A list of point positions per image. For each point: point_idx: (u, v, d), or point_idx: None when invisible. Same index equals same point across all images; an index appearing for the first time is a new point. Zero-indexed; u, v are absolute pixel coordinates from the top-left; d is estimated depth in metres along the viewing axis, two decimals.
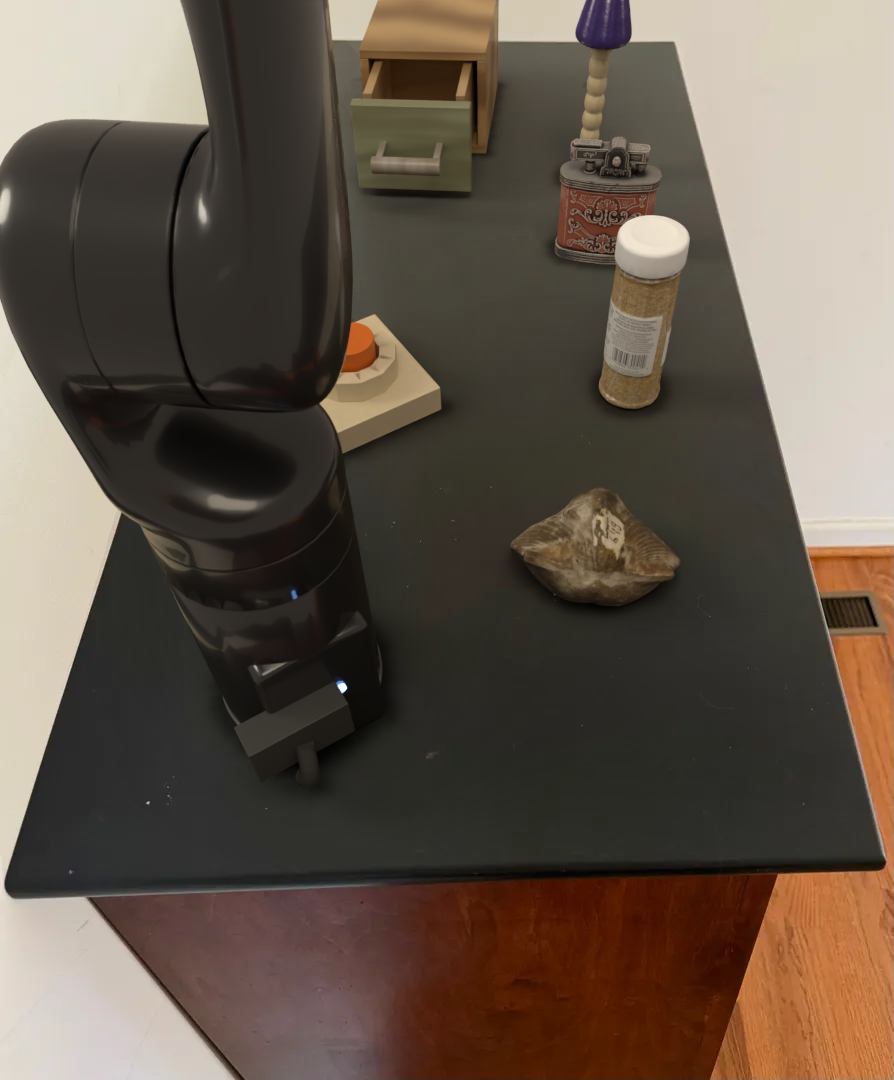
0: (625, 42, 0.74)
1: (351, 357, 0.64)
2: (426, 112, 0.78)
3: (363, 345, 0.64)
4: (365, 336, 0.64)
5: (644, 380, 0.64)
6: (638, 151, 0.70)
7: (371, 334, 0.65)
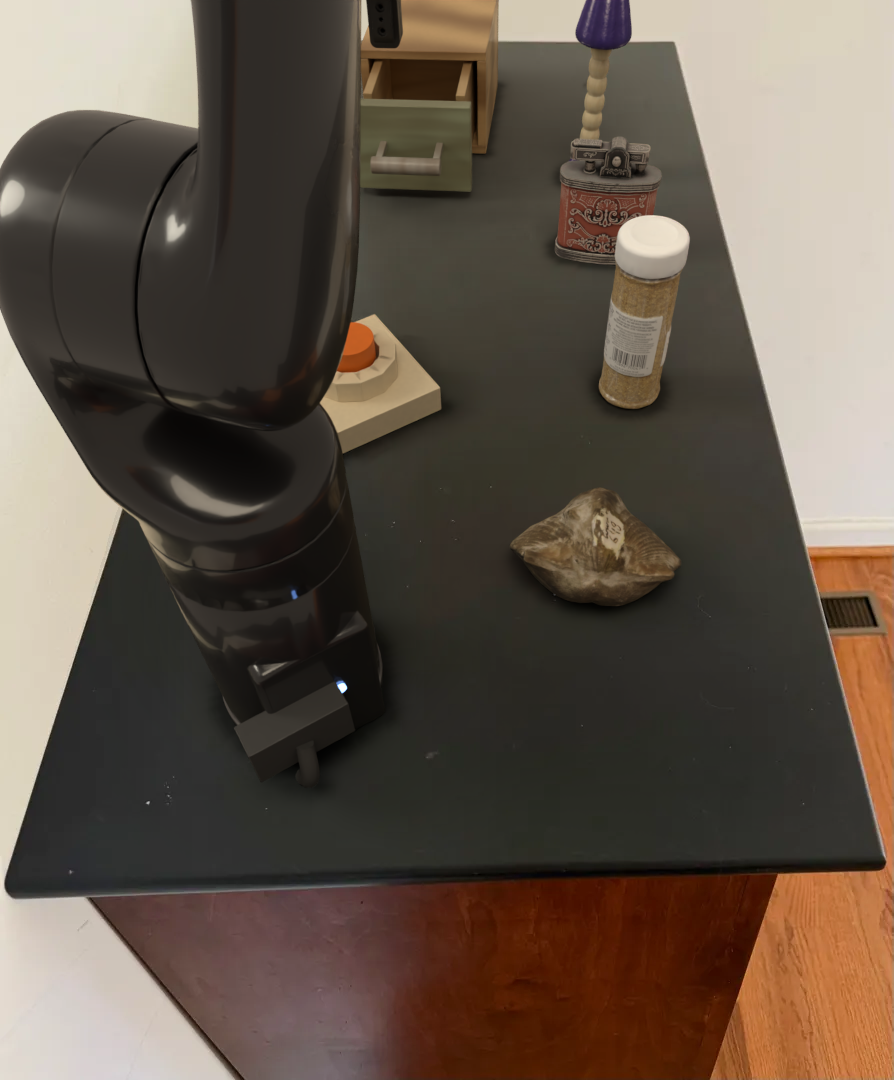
0: (625, 42, 0.74)
1: (351, 357, 0.64)
2: (426, 112, 0.78)
3: (363, 345, 0.64)
4: (365, 336, 0.64)
5: (644, 380, 0.64)
6: (638, 151, 0.70)
7: (371, 334, 0.65)
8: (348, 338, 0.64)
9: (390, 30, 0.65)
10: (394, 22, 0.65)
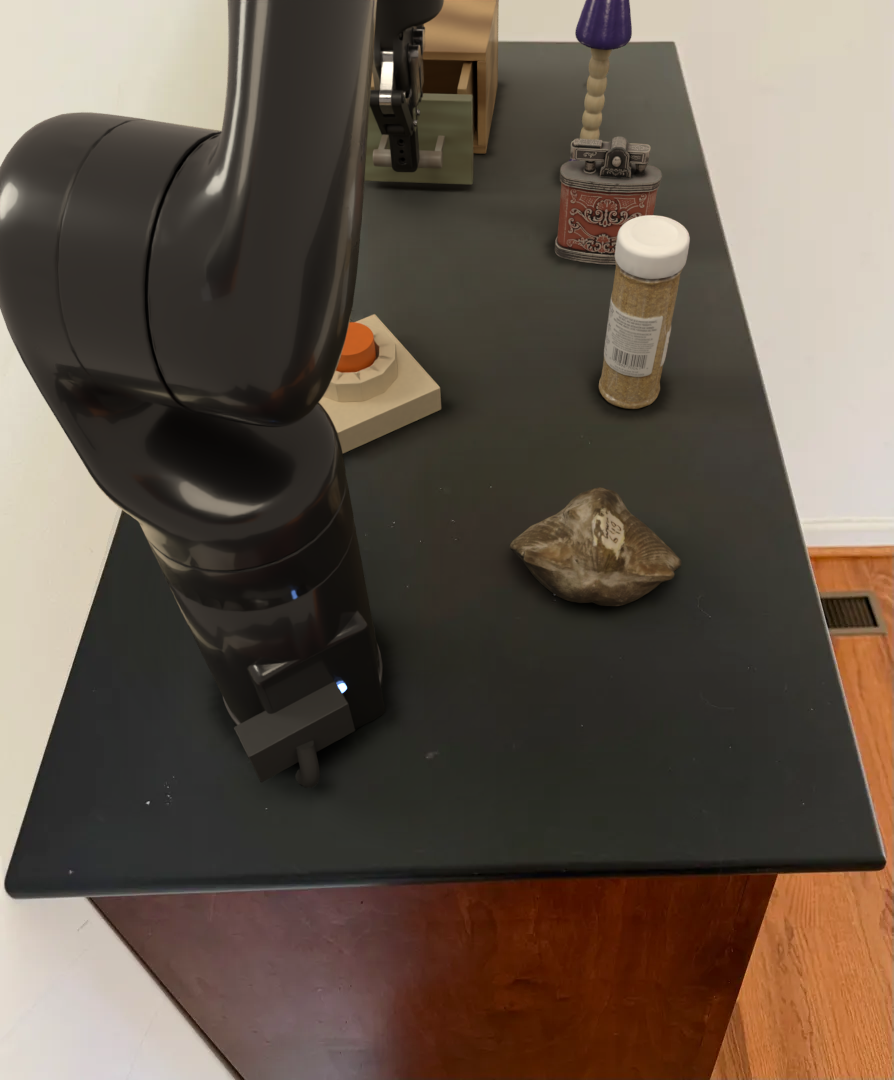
0: (625, 42, 0.74)
1: (351, 357, 0.64)
2: (428, 105, 0.78)
3: (363, 345, 0.64)
4: (365, 336, 0.64)
5: (644, 380, 0.64)
6: (638, 151, 0.70)
7: (371, 334, 0.65)
8: (348, 338, 0.64)
9: (409, 160, 0.76)
10: (412, 152, 0.76)
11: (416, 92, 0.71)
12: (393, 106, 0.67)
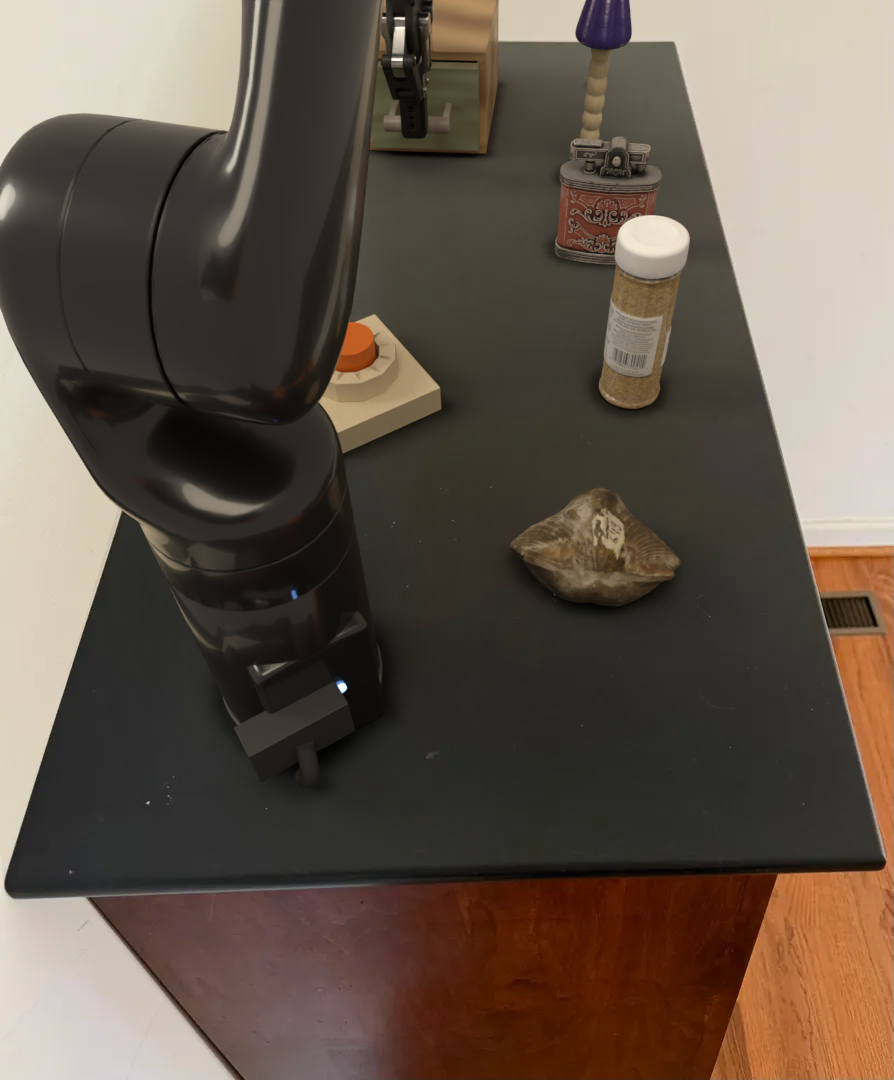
0: (625, 42, 0.74)
1: (351, 357, 0.64)
2: (436, 73, 0.82)
3: (363, 345, 0.64)
4: (365, 336, 0.64)
5: (644, 380, 0.64)
6: (638, 151, 0.70)
7: (371, 334, 0.65)
8: (348, 338, 0.64)
9: (418, 126, 0.79)
10: (422, 119, 0.79)
11: (426, 58, 0.74)
12: (405, 69, 0.71)
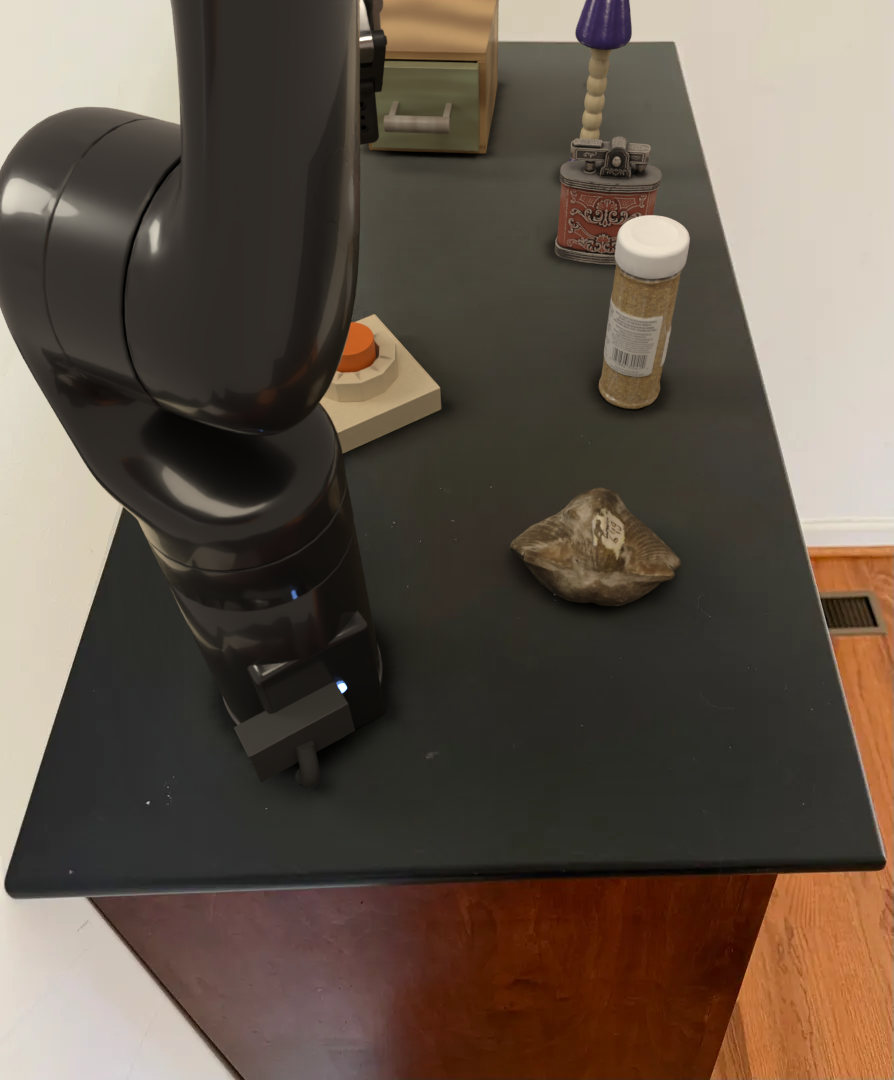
0: (625, 42, 0.74)
1: (351, 357, 0.64)
2: (436, 73, 0.82)
3: (363, 345, 0.64)
4: (365, 336, 0.64)
5: (644, 380, 0.64)
6: (638, 151, 0.70)
7: (371, 334, 0.65)
8: (348, 338, 0.64)
9: (372, 126, 0.63)
10: (373, 117, 0.63)
11: None
12: (376, 49, 0.55)
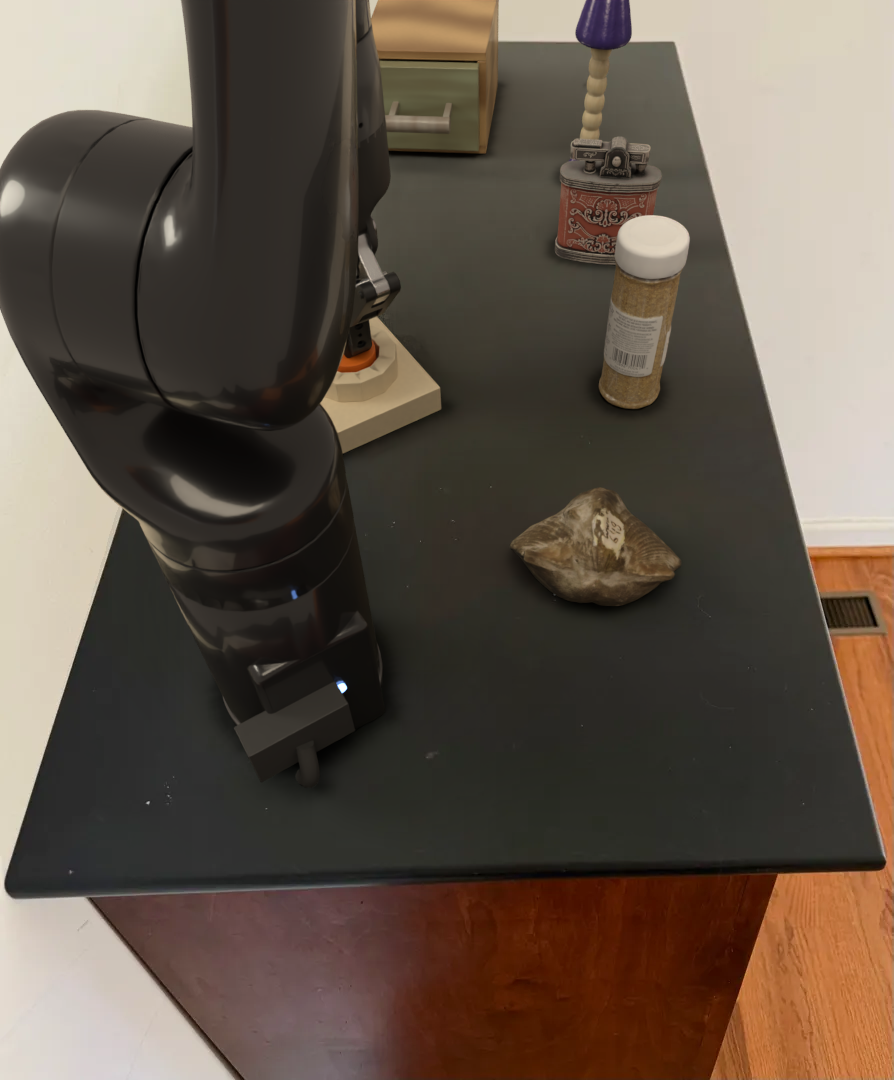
0: (625, 42, 0.74)
1: (353, 368, 0.64)
2: (436, 73, 0.82)
3: (365, 356, 0.65)
4: None
5: (644, 380, 0.64)
6: (638, 151, 0.70)
7: (372, 345, 0.65)
8: None
9: (369, 340, 0.63)
10: None
11: None
12: (392, 292, 0.55)
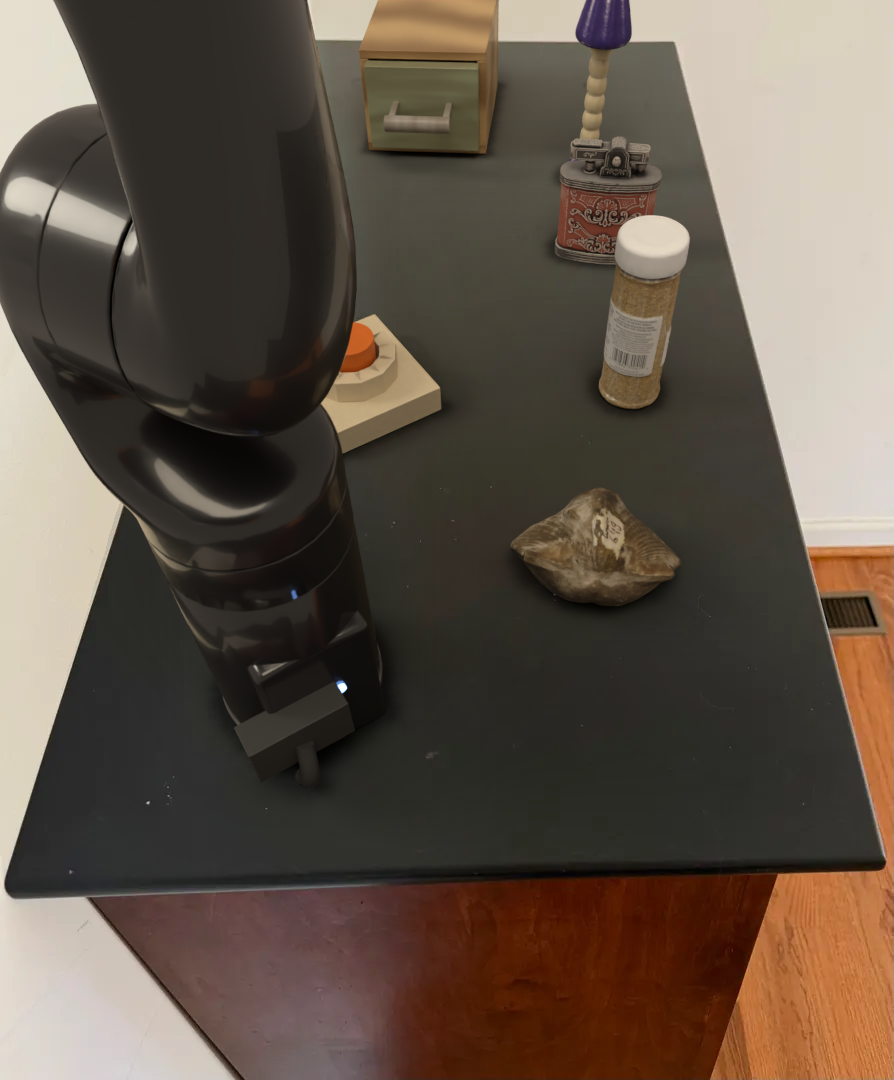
0: (625, 42, 0.74)
1: (351, 357, 0.64)
2: (436, 73, 0.82)
3: (363, 345, 0.64)
4: (365, 336, 0.64)
5: (644, 380, 0.64)
6: (638, 151, 0.70)
7: (371, 334, 0.65)
8: None
9: None
10: None
11: None
12: None
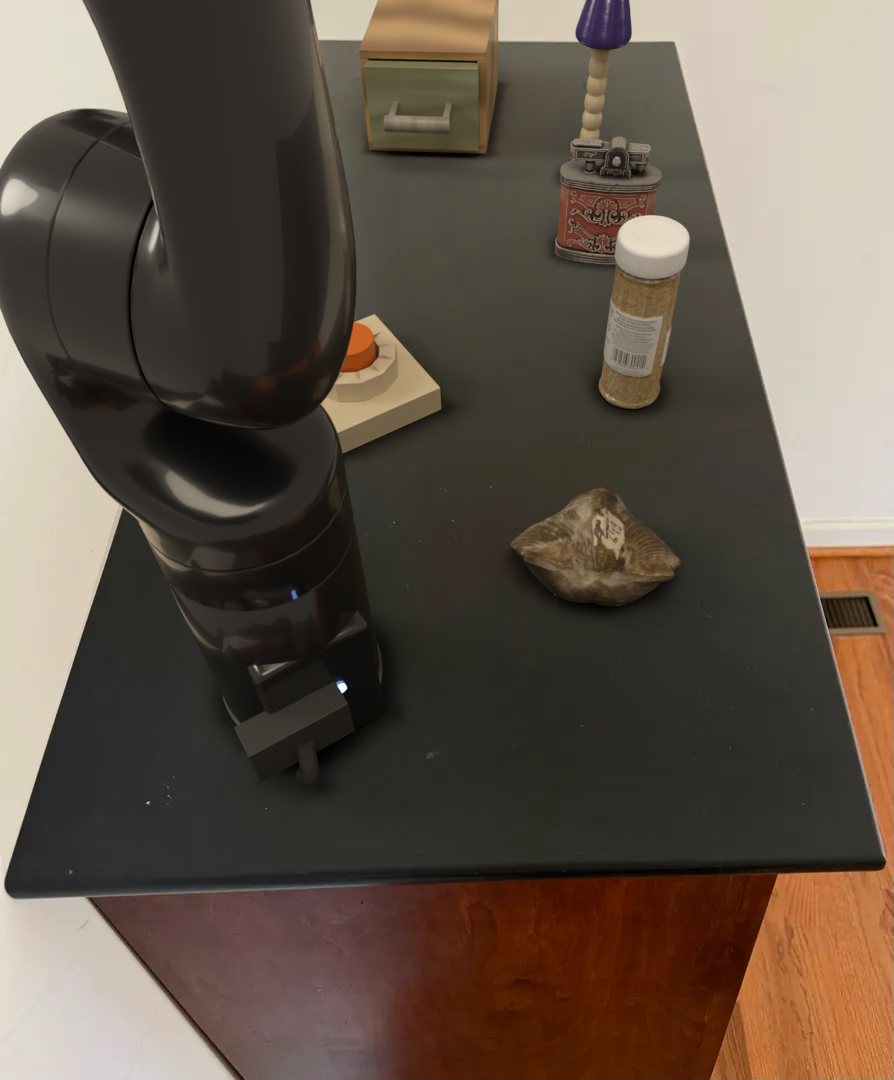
0: (625, 42, 0.74)
1: (351, 357, 0.64)
2: (436, 73, 0.82)
3: (363, 345, 0.64)
4: (365, 336, 0.64)
5: (644, 380, 0.64)
6: (638, 151, 0.70)
7: (371, 334, 0.65)
8: None
9: None
10: None
11: None
12: None
